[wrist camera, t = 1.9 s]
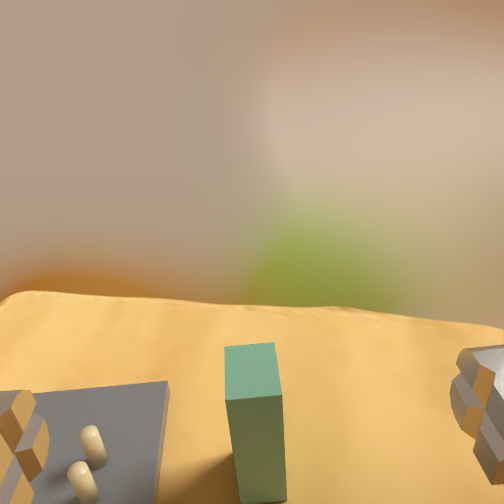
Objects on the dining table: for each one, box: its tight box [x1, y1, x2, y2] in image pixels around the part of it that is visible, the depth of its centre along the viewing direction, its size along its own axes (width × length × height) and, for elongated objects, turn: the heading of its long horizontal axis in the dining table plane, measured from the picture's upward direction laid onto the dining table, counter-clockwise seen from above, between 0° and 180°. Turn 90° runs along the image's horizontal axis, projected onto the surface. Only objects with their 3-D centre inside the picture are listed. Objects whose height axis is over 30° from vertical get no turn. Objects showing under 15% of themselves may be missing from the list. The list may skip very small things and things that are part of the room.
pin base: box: [30, 381, 170, 504], centre depth 29 cm, size 14×16×4 cm
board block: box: [225, 342, 287, 504], centre depth 28 cm, size 3×4×10 cm
